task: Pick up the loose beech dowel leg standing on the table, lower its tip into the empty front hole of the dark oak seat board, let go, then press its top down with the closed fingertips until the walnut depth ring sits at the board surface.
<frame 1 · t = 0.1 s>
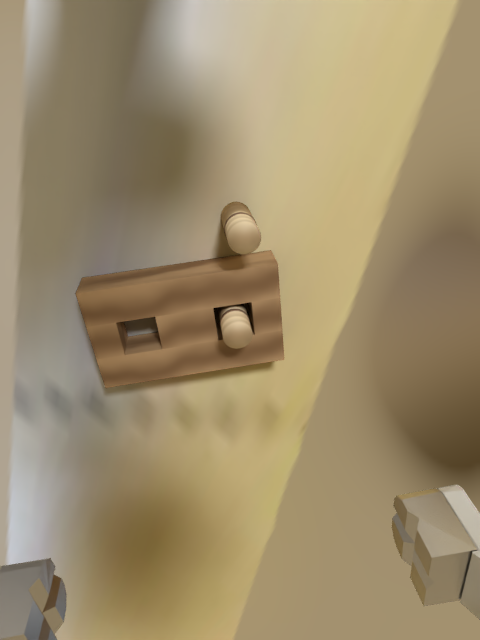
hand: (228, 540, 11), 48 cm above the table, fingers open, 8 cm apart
seat board: (186, 311, 62), on the table
leg: (235, 216, 56), on the table
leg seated: (230, 305, 62), resting in seat board
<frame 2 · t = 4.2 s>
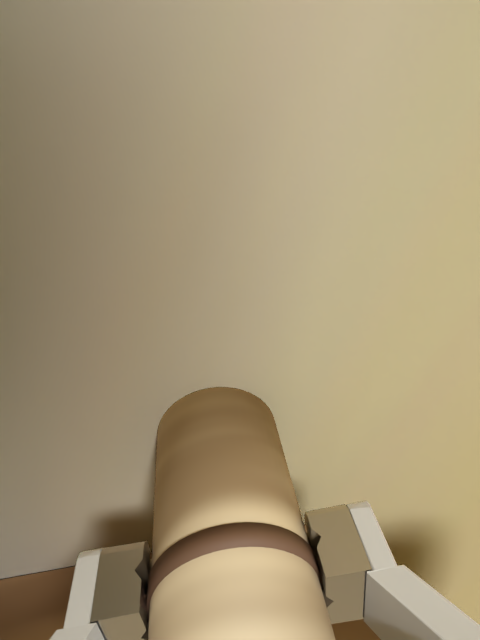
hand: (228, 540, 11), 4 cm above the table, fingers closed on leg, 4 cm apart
leg: (217, 434, 14), on the table, touching gripper
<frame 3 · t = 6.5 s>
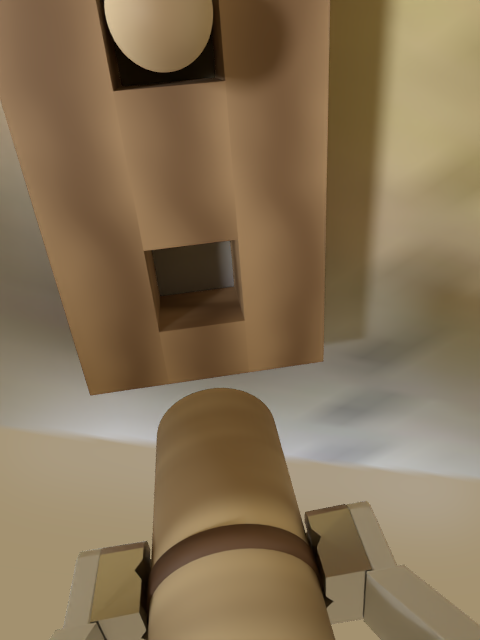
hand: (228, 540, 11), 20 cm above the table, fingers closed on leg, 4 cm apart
seat board: (178, 155, 25), on the table
leg: (216, 435, 14), point 16 cm above the table, touching gripper
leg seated: (161, 26, 22), resting in seat board
when the fingers open (6 cm above the table, at t = 9.0 s): leg drops 2 cm, resting in seat board.
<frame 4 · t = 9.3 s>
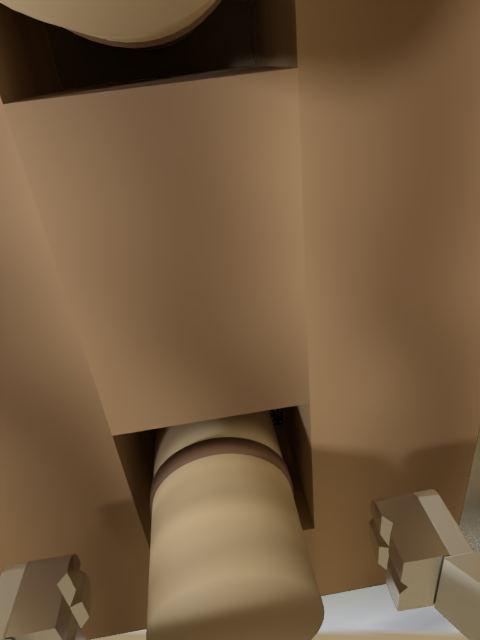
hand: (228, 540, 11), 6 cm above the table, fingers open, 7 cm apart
seat board: (184, 218, 13), on the table
leg: (209, 385, 16), resting in seat board
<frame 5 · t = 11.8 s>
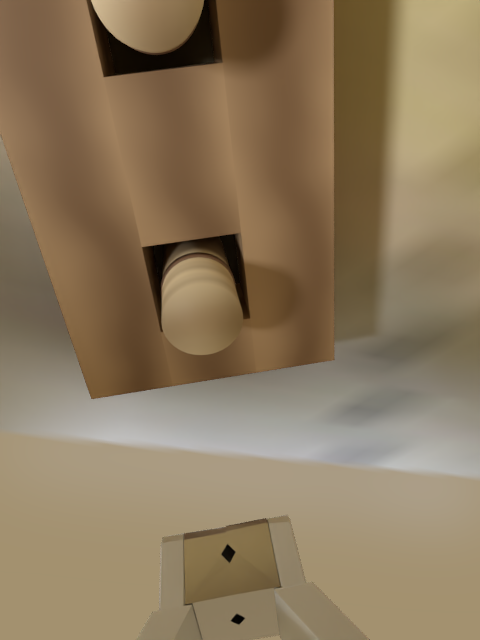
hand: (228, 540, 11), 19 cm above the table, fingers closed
seat board: (178, 145, 24), on the table
leg: (193, 253, 27), resting in seat board
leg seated: (155, 9, 21), resting in seat board
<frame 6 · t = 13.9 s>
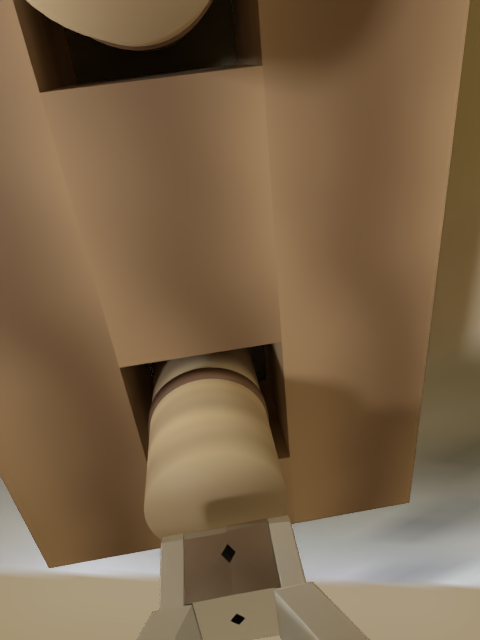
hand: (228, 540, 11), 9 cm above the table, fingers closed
seat board: (178, 193, 16), on the table
leg: (201, 343, 19), resting in seat board
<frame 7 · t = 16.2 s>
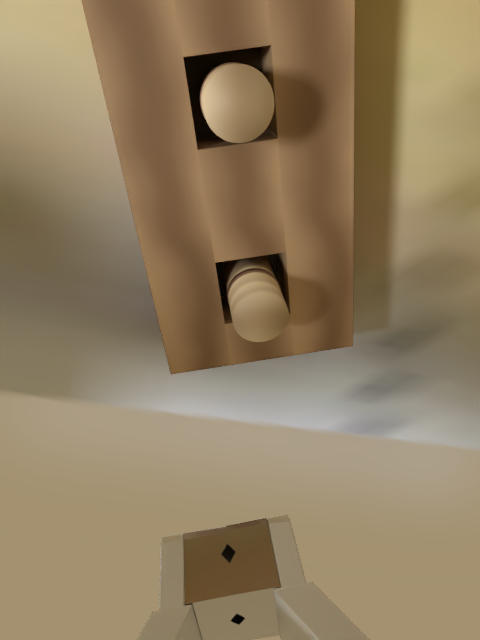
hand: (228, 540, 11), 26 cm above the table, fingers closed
seat board: (237, 187, 33), on the table
leg: (245, 265, 36), resting in seat board
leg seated: (226, 94, 30), resting in seat board
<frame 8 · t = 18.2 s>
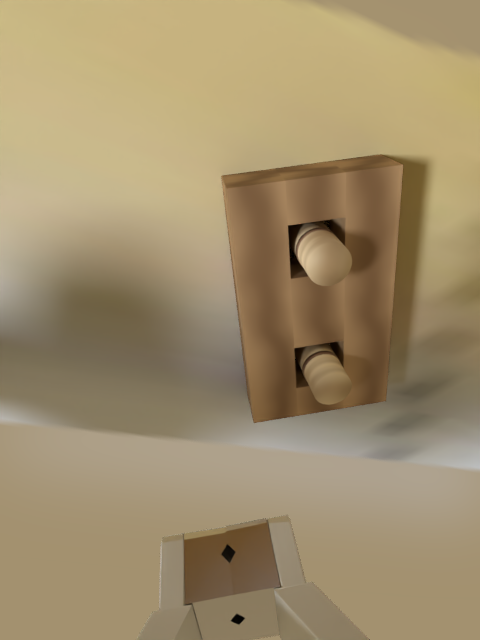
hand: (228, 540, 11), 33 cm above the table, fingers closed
seat board: (306, 289, 46), on the table
leg: (307, 341, 49), resting in seat board
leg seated: (304, 231, 43), resting in seat board
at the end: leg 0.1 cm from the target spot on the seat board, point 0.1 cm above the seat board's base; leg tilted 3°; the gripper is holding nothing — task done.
